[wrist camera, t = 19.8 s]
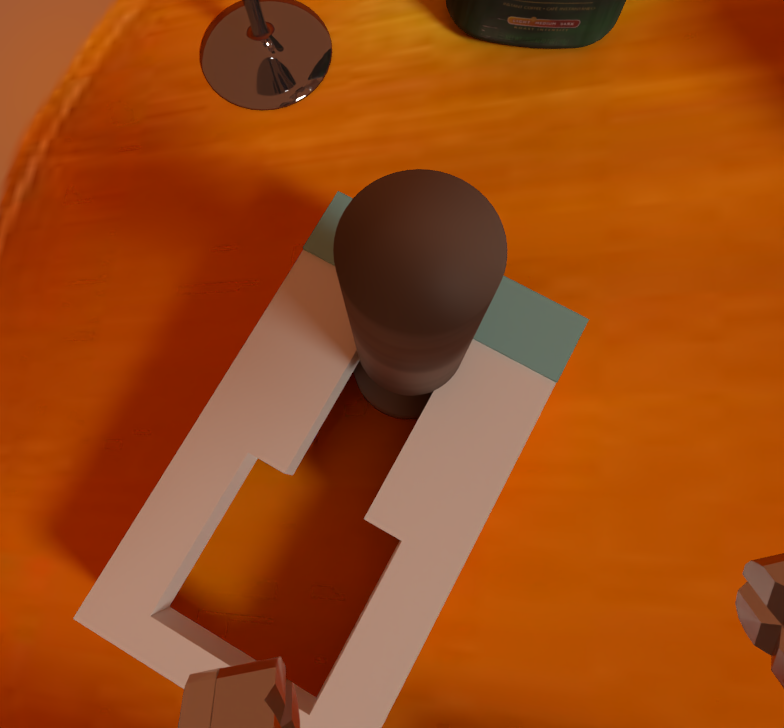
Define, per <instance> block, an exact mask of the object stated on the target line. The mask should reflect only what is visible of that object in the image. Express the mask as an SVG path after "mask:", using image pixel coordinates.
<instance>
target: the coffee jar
mask: <svg viewBox="0 0 784 728" xmlns="http://www.w3.org/2000/svg"><path fill="white" fill-rule="evenodd" d="M625 2H626V0H446V4H447V8H448V11H449V13H450V16H451V17H452V19H453V20H454V22H455V23H456V24H457V25H458V27H459V28H460V29H462V30H463V31H464V32H465V33H466V34H468V35H470V36H472V37H474V38H477V39H480V40H484V41H488V42H494V43H499V44H505V45H511V46H519V47H528V48H543V49H561V48H579V47H584V46H587V45H590V44H593V43H595V42H596V41H598V40H600V39H602V38H603V37H604V36H605V35H606V34H607V33H609V31H610V30H611V29H612V28H613V26H614V25H615V23H616V21H617V19H618V17H619V15H620V13H621V11H622V9H623V6H624V4H625Z"/></svg>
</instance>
